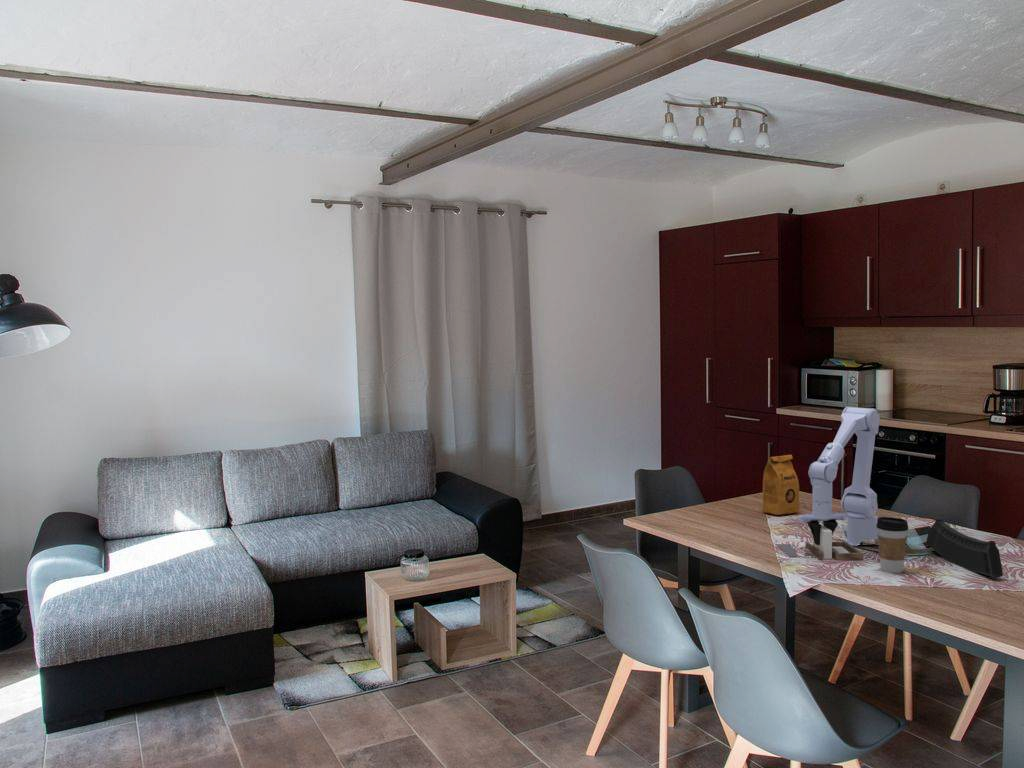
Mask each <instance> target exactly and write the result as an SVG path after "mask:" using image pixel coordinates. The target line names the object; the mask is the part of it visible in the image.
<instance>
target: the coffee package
mask: <svg viewBox="0 0 1024 768" xmlns="http://www.w3.org/2000/svg"><path fill="white" fill-rule="evenodd" d="M791 460H793V455H792V454H787V455H786V454H783V455H778V456H777V455H776V456H770V457H769V459H768V460H767V462H766V466H765V467H764V471H763V476H762V477H763V478H762V511H763V513H764V514H770V515H775V516H782V515H791V514H794V513H796V514H797V513H799V510H800V484H799V478H798V475H797V472H796V471H795V469H794V466H793V463H792V461H791Z"/></svg>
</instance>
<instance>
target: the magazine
mask: <svg viewBox="0 0 1024 768" xmlns="http://www.w3.org/2000/svg"><path fill="white" fill-rule="evenodd" d="M925 542H926V544H927V545H928V546H929V547H930V548H931V549H932V550H933V551H934V552H935V553H936V552H937V553H939V554H938V555H940V556H942V557H943V558H944V559H946V561H949V562H950V563H952V564H954V565H956V566H959V567H960V568H962V567H963V568H962V569H965V570H967V569H968V571H970V572H974V573H978V574H982V575H986V576H989V577H992V578H1001V577H1003V576H1004V571H1003V566H1002V565H1003V564H1002V560H1001V554H1000V549H999V548H998V546H997V543H996V541H994V540H989V541H985V540H980V539H978V538H975V537H973V536H968V535H967V534H964V533H962V532H959V531H958V530H957V529H955V528H953V527H951V526H950V525H949V524H948V523H946V522H944V521H943V519H942V518H936V519H935V521H934V523H933V524H932V525H931V527H930V529H929V530H928V532H927V536H926V541H925Z"/></svg>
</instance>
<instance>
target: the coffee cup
mask: <svg viewBox="0 0 1024 768" xmlns="http://www.w3.org/2000/svg"><path fill="white" fill-rule="evenodd" d="M877 518H878V519H877V524H876V525H877V526H876V527H877V528H878V545H879V546H878V552H879V553H878V555H879V561H880V562H879V566H880V570H881V571H883V572H885V571H886V573H891V574H893V573H894V574H899V573H903V572H904V566H905V556H906V549H907V541H908V540H907V539H908V535H907V532H908V530H909V524H908V520H906V519H904V518H900V517H899V518H898V517H891V516H890V517H889V516H877Z"/></svg>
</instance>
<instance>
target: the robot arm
mask: <svg viewBox="0 0 1024 768" xmlns="http://www.w3.org/2000/svg"><path fill="white" fill-rule="evenodd" d="M880 417H881V416H880V414H879V412H878V410H877V409H876V408H867V407H865V408H864V407H856V406H855V407H853V406H846V407H845V408H843V410H842V414H841V415H840V422H841V424H840V426H839V427H838V430H837V433H836V434H835V437H834V439H833V442H828V443H827V444H826V446H825V447H824V449H823V451H822V452H821V454H820V456H819V457H818V459H817V461H813V462H812V463H810V465H809V468H808V472H807V473H808V477H809V479H810V484H811V486H812V505H811V506H812V512H811V513H806V514H798V516H797V517H798V518H797V519H798V522H799V523H801V524H802V523H806V524H807V525H808V526H807V527H808V528H809V530H810V531H811V535H812V539H813V538H814V543H815V544H816V545H820V530H821V526H822V525H824V526H825V527H826V528H828V529H829V530H831V531H832V536H833V535H834V532H835V531H836V529H837V528H838V525H839V522H838V521H843V522H844V521H846V537H842V538H841V539H842V541H846V542H847V543H849V544H850V545H851V546H853V547H859V546H858V545H860V543H861V542H862V541H864V540H872V539H878V528H877V527H876V526H877V525H876V524H877V519H878V516H876V513H877V511H878V509H879V508H878V494H877V493H876V492H875V491H874V490H873V488H871V487H870V486H871V485H870V483H871V477H872V476H871V474H872V466H873V459H874V458H873V457H874V451H875V450H874V449H875V440H876V435H879V429H880V428H879V427H880V419H881V418H880ZM854 434H855V435H856V437H857V438H856V439H857V440H856V445H855V446H856V449H855V455H854V463H853V464H854V465H853V473H852V479H851V480H852V481H851V485H850V486H848V487H846V488H845V489H844V491H843V496H842V498H841V500H840V508H841V509H842V510H841V511H843V512H833V482H834V481H835V479H836V478H837V475H838V474H837V473H838V470H839V466H838V465H839V464H840V462H841V461H842V459H843V457H844V455H845V449H844V448H845V447H846V445H847V444H848V442H849V441H850V439H851V438H852V436H853V435H854ZM820 522H822V523H821V524H822V525H821V524H819V523H820Z"/></svg>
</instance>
